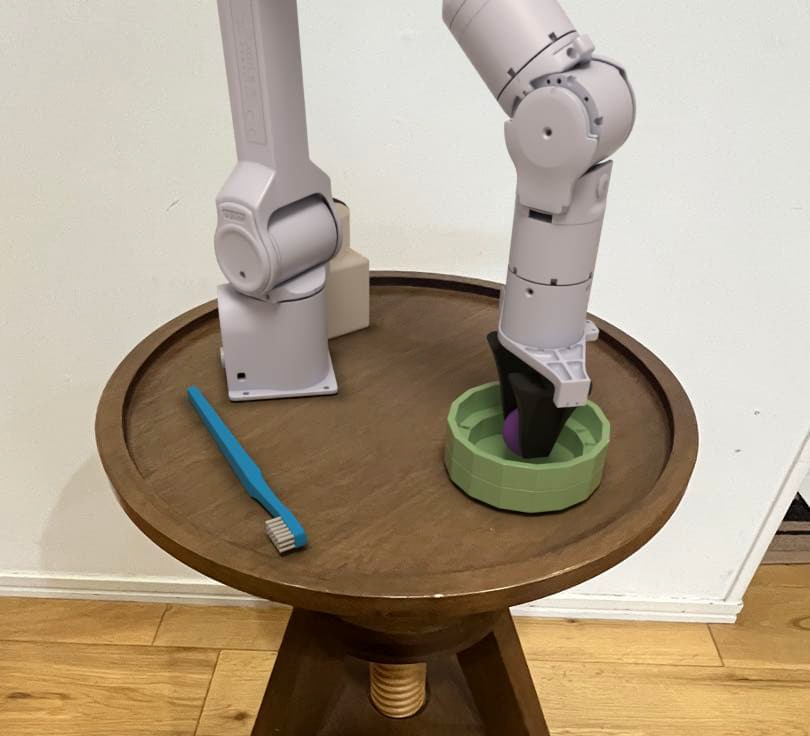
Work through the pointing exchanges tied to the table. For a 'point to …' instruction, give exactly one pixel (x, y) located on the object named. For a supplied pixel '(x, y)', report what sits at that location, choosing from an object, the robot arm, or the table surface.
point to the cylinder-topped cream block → (347, 285)
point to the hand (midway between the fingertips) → (526, 438)
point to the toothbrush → (251, 478)
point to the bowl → (513, 475)
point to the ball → (512, 432)
